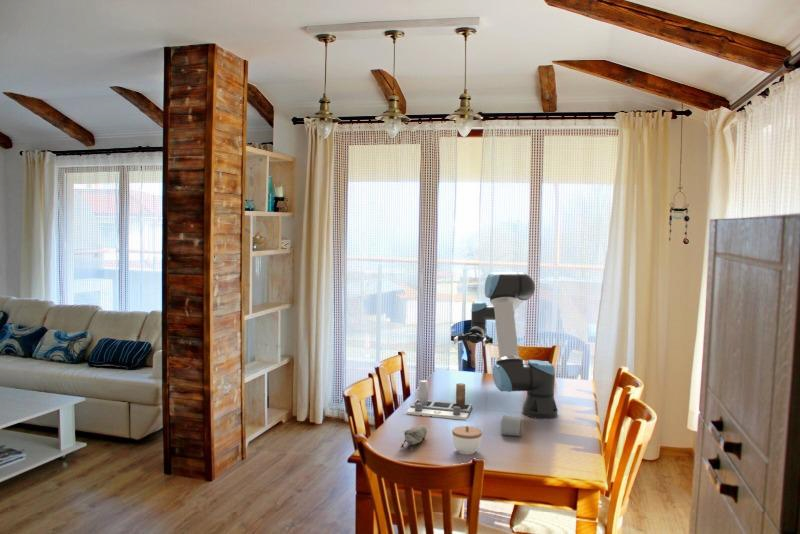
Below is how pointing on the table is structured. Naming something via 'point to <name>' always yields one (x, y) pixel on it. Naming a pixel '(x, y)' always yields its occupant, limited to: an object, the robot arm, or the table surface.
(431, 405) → the pin board
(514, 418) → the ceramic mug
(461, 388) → the walnut pin
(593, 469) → the table surface
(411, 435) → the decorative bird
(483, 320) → the robot arm
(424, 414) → the plaque
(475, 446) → the lidded jar
